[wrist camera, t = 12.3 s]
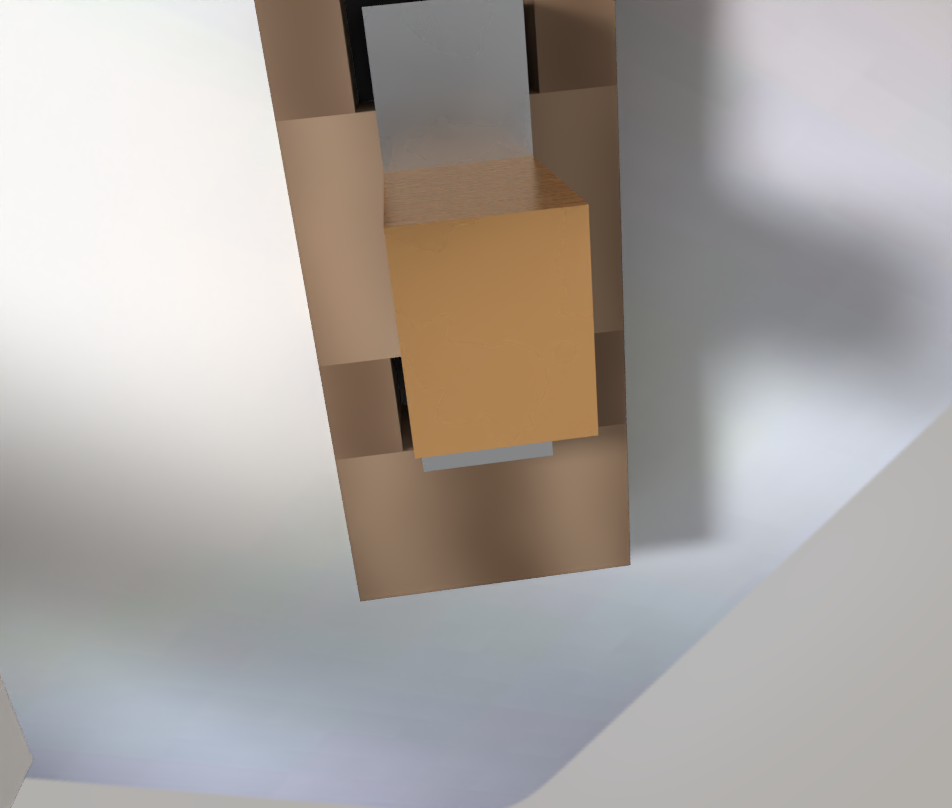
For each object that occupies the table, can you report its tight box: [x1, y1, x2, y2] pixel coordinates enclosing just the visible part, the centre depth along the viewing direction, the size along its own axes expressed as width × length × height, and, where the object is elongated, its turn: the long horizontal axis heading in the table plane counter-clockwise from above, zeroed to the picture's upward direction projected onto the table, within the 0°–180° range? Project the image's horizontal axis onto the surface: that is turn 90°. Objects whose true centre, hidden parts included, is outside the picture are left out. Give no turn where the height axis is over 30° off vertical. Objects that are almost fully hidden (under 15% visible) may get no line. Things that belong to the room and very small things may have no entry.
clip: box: [362, 0, 598, 472], centre depth 25 cm, size 4×13×14 cm, turn 6°
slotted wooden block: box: [254, 0, 630, 601], centre depth 29 cm, size 10×26×4 cm, turn 6°
